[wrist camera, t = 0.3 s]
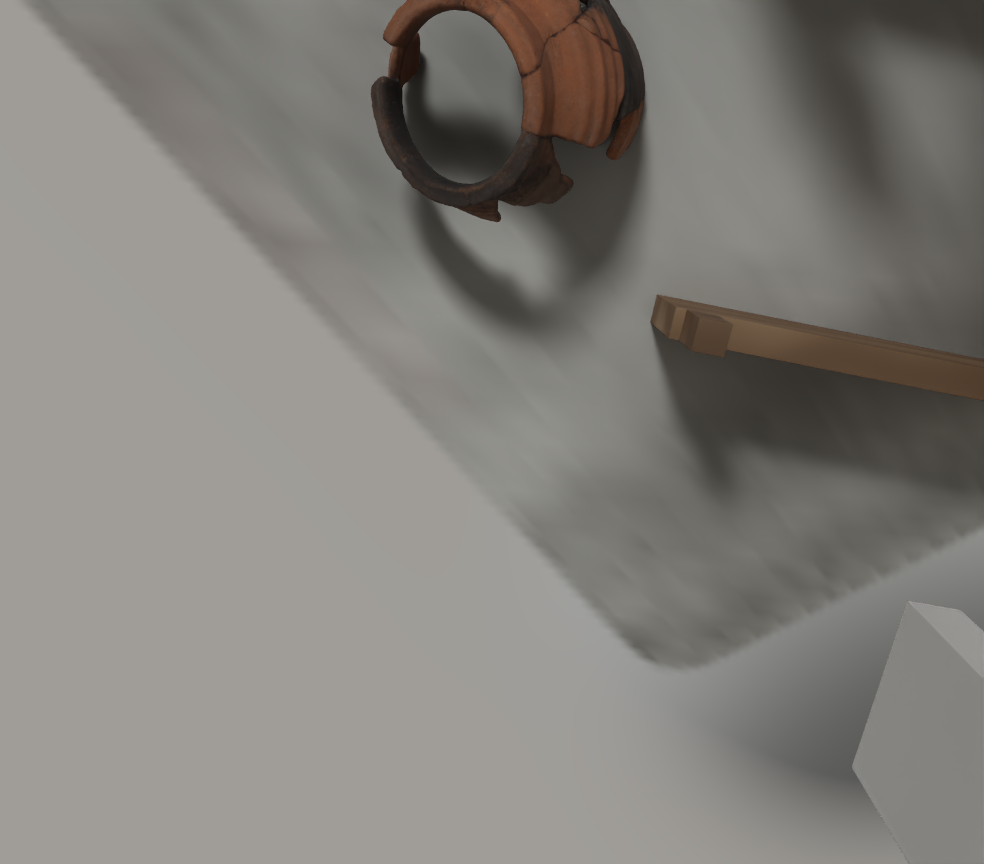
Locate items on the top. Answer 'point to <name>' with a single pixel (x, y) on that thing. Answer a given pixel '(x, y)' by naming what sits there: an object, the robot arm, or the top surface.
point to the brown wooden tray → (816, 347)
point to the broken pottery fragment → (524, 95)
